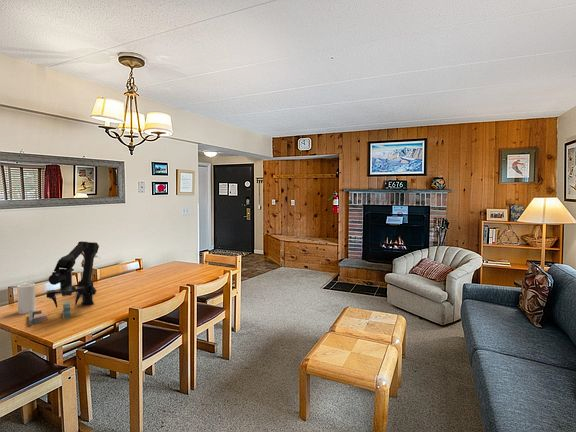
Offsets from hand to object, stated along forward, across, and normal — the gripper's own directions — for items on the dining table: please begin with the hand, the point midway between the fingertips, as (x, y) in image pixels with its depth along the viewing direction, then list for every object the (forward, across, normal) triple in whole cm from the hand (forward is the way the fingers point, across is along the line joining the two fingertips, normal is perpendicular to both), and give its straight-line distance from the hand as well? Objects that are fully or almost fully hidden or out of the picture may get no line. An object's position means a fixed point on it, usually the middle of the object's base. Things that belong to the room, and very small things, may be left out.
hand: (66, 306), depth 198 cm
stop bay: (+5, -14, 0) cm, 15 cm away
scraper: (+5, 0, 0) cm, 5 cm away
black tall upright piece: (+5, +14, +40) cm, 43 cm away
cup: (+5, -19, +18) cm, 27 cm away
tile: (+6, -12, 0) cm, 13 cm away
